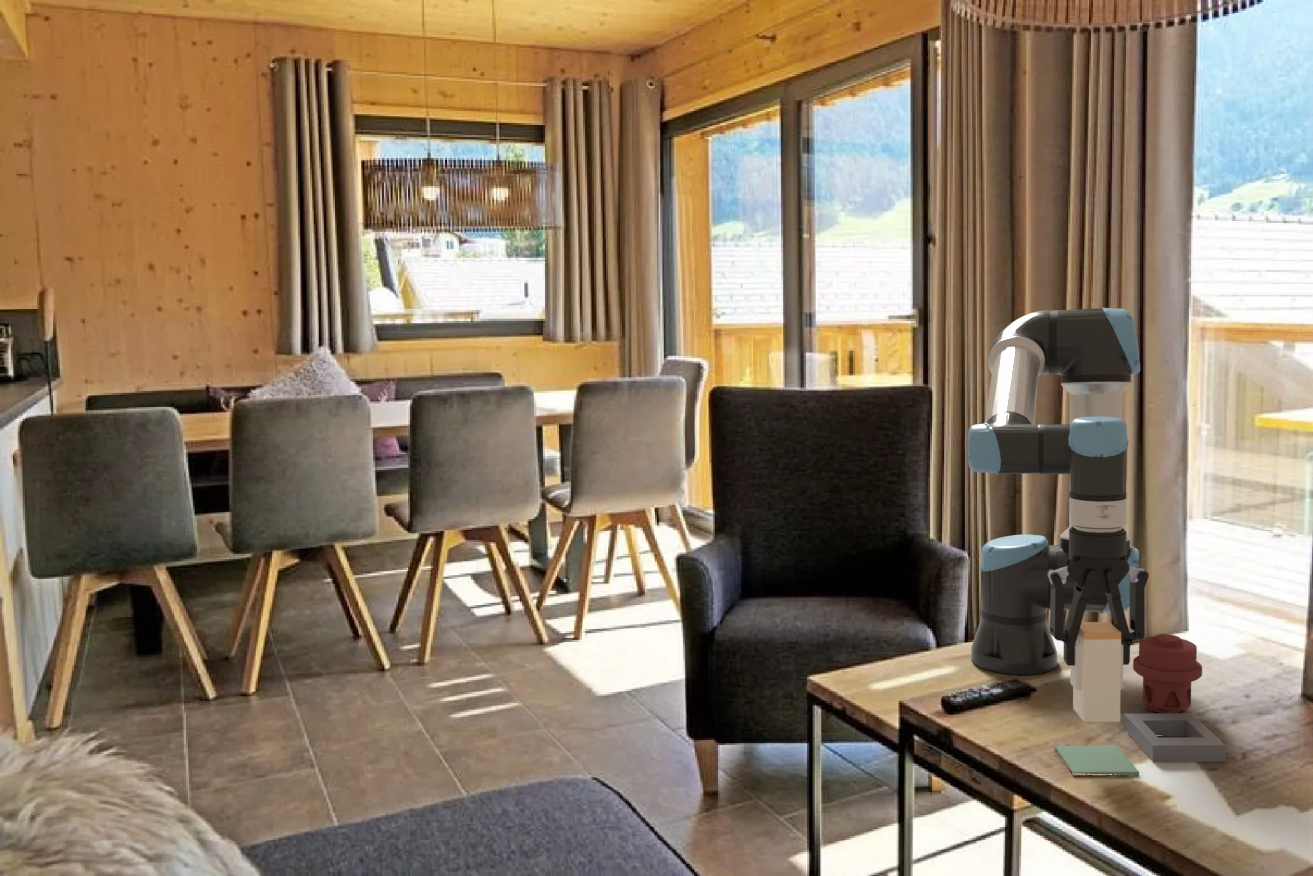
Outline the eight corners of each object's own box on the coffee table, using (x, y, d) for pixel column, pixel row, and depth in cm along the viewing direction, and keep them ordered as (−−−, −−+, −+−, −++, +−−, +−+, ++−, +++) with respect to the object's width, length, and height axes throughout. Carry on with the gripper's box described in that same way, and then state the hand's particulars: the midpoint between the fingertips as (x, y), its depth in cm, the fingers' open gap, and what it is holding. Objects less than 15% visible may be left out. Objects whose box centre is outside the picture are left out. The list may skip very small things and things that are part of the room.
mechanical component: (1191, 701, 176) (1209, 725, 167) (1126, 699, 178) (1140, 722, 169) (1192, 628, 175) (1211, 648, 165) (1127, 627, 177) (1141, 646, 167)
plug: (1073, 708, 157) (1073, 622, 155) (1108, 708, 156) (1109, 621, 155) (1083, 721, 152) (1084, 632, 150) (1120, 721, 152) (1121, 632, 150)
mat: (1054, 749, 160) (1054, 746, 160) (1117, 749, 159) (1117, 745, 159) (1073, 776, 151) (1073, 772, 151) (1139, 775, 150) (1139, 771, 150)
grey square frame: (1123, 729, 166) (1124, 713, 166) (1190, 728, 166) (1191, 713, 165) (1152, 762, 155) (1153, 745, 154) (1225, 761, 154) (1225, 745, 153)
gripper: (1038, 534, 148) (1038, 696, 151) (1174, 531, 147) (1171, 695, 149) (1025, 523, 156) (1025, 678, 158) (1153, 520, 154) (1151, 676, 157)
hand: (1096, 686), depth 154 cm, fingers closed on plug, 5 cm apart
